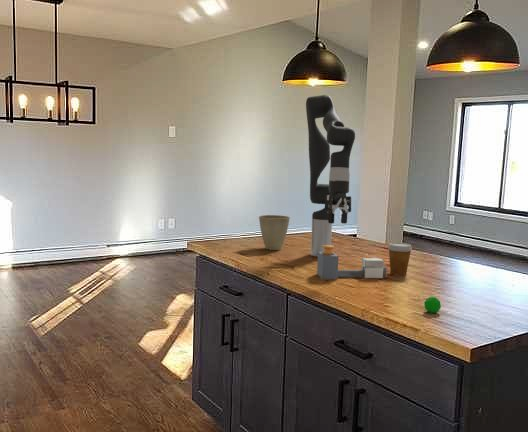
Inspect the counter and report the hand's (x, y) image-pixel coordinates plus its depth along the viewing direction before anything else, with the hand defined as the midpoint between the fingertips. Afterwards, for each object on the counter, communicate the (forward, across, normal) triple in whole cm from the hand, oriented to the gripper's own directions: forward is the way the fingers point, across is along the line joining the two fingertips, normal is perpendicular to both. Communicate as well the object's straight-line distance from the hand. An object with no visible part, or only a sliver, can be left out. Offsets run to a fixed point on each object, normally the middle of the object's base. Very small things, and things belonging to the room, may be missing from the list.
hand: (337, 223), depth 212 cm
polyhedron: (+26, +11, +44) cm, 52 cm away
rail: (+21, -14, +2) cm, 25 cm away
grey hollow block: (+21, -4, -7) cm, 22 cm away
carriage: (+21, -18, +5) cm, 28 cm away
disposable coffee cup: (+20, -31, +9) cm, 38 cm away
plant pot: (+15, -33, -59) cm, 70 cm away
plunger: (+14, -4, -6) cm, 15 cm away
